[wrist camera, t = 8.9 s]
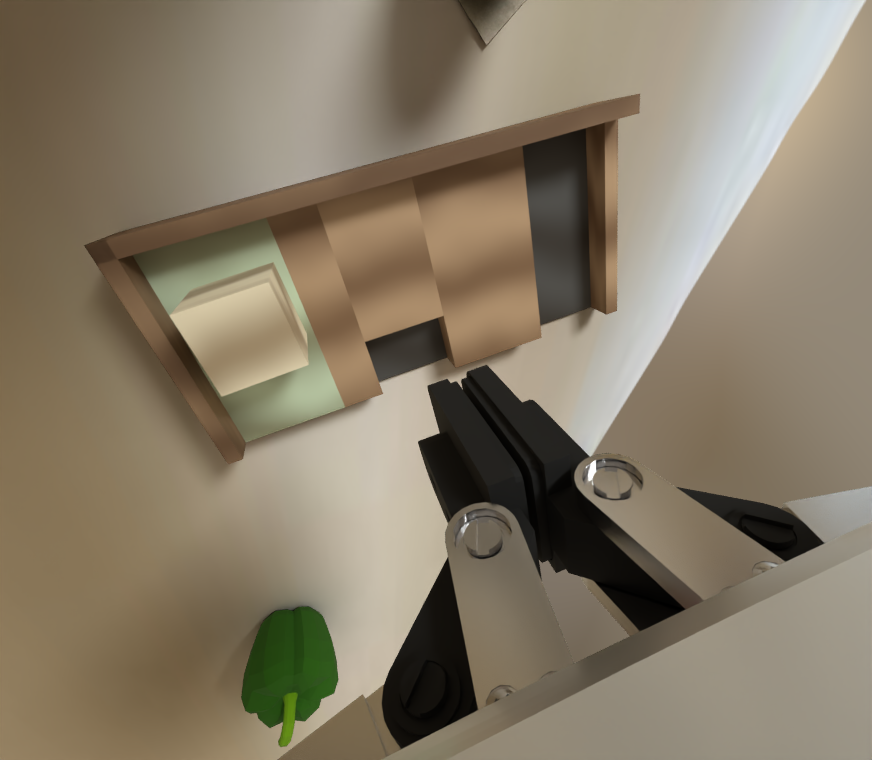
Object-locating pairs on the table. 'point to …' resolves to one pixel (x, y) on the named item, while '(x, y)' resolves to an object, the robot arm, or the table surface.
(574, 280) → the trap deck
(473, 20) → the condiment
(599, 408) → the table surface
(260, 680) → the bell pepper
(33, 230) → the table surface
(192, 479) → the table surface
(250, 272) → the birch block
